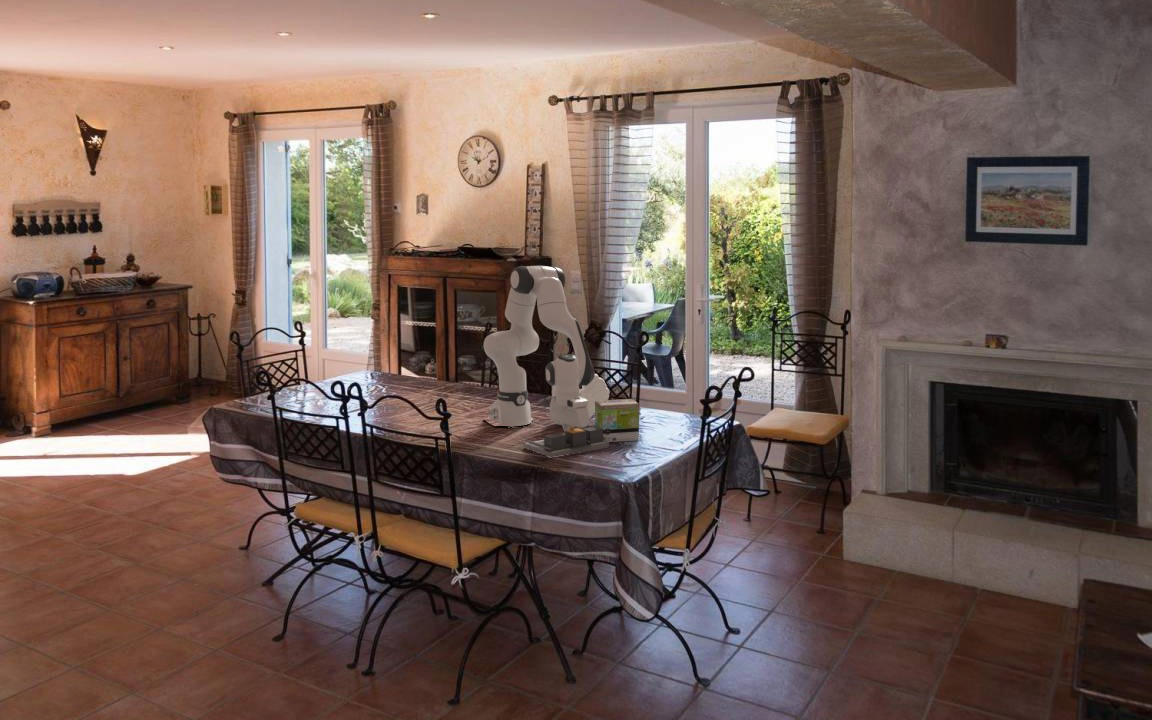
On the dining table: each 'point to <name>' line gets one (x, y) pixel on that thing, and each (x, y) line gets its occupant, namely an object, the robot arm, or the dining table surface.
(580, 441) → the block
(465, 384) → the dining table surface
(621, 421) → the tea box
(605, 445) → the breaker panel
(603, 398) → the decorative rooster
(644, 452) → the dining table surface
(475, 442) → the dining table surface
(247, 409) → the dining table surface
